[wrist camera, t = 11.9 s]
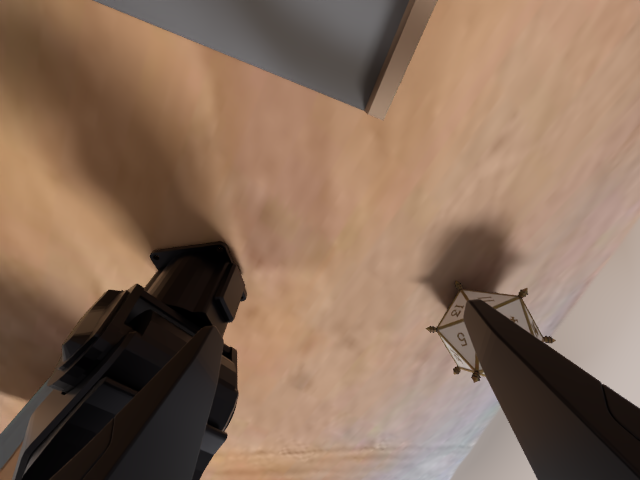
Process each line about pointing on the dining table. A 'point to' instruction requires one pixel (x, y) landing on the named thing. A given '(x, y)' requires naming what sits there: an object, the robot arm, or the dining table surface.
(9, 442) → the alarm clock
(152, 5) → the channel
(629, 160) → the dining table surface
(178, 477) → the robot arm
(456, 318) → the game die
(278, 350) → the dining table surface
